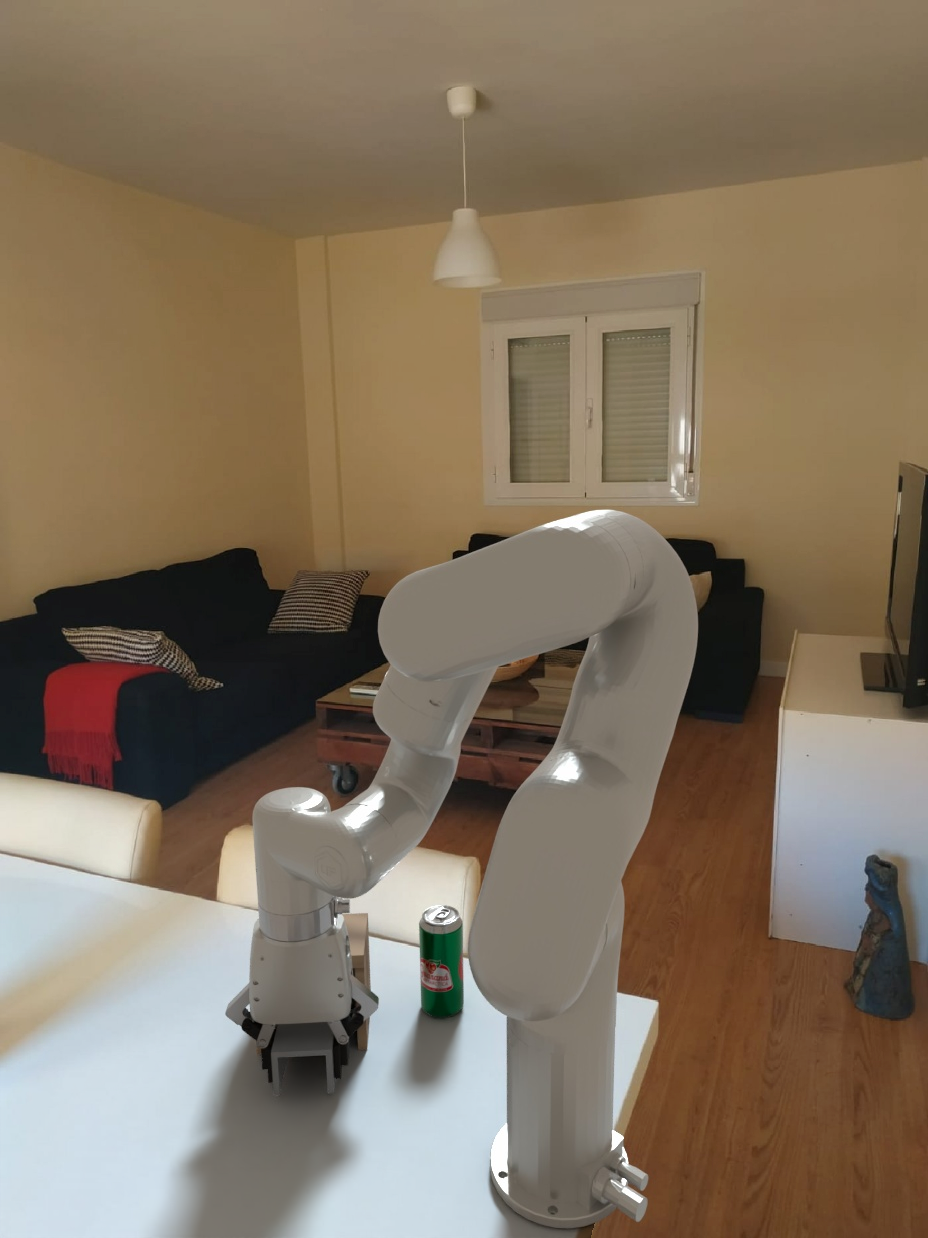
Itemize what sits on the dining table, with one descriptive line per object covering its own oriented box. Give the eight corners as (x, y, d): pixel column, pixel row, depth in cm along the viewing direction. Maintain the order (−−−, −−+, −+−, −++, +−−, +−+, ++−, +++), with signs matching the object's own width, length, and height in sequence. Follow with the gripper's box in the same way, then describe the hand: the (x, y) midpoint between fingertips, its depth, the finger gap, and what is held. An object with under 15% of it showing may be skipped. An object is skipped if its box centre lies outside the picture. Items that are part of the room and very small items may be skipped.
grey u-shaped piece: (333, 1093, 87) (331, 1049, 86) (273, 1096, 86) (270, 1052, 85) (344, 1005, 100) (343, 966, 99) (293, 1007, 100) (290, 969, 99)
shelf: (367, 1049, 95) (363, 955, 92) (257, 1055, 94) (250, 960, 92) (371, 1000, 103) (367, 913, 101) (269, 1005, 102) (264, 917, 100)
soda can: (413, 1013, 101) (410, 919, 98) (434, 989, 105) (432, 899, 103) (450, 1026, 98) (449, 930, 96) (471, 1001, 103) (470, 909, 100)
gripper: (385, 890, 90) (391, 1043, 93) (218, 897, 89) (229, 1051, 92) (383, 930, 82) (388, 1094, 86) (200, 937, 81) (213, 1103, 85)
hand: (306, 1070), depth 89 cm, fingers closed on grey u-shaped piece, 6 cm apart
